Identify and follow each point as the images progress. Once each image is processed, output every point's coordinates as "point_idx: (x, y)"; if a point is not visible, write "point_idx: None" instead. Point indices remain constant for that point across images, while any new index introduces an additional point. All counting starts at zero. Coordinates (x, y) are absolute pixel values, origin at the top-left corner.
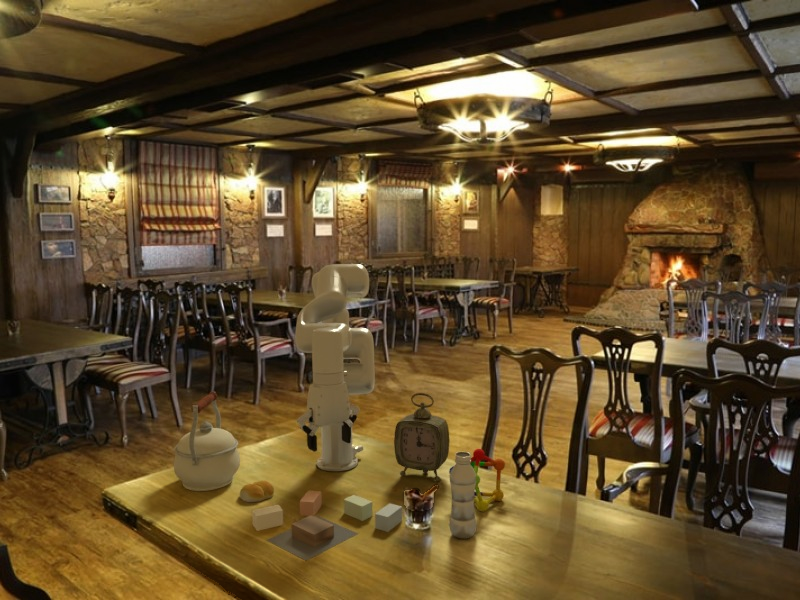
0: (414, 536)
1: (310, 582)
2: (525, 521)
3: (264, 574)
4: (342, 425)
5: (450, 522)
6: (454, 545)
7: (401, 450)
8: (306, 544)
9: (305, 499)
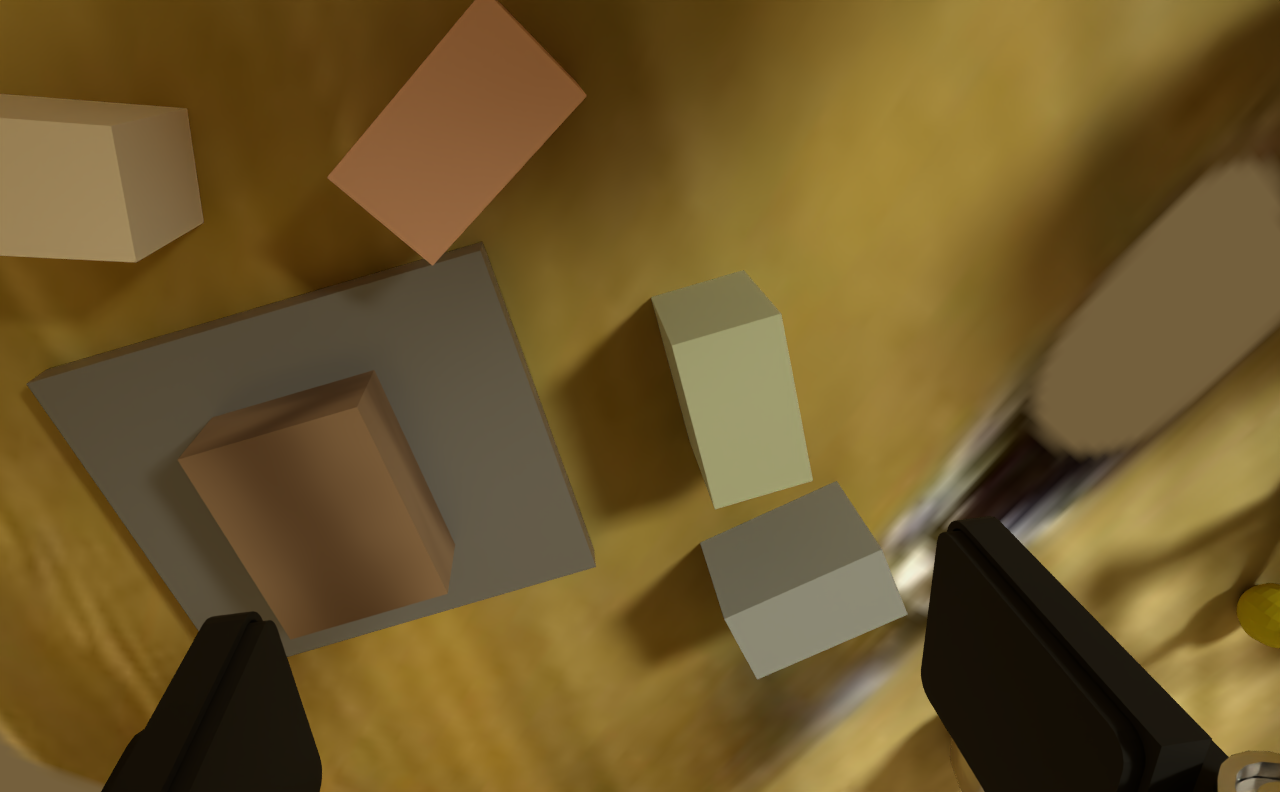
0: None
1: None
2: (1264, 732)
3: (2, 633)
4: (1154, 766)
5: None
6: (904, 761)
7: None
8: None
9: (389, 172)
